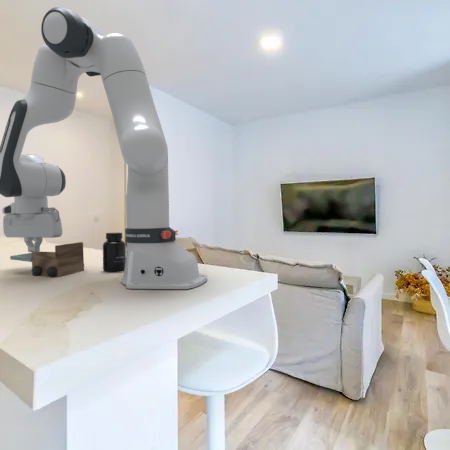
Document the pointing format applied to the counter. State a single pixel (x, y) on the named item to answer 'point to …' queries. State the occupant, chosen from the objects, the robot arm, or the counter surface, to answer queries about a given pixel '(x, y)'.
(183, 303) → the counter surface
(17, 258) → the panel
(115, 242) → the supplement bottle
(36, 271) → the cart
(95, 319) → the counter surface
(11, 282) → the counter surface
